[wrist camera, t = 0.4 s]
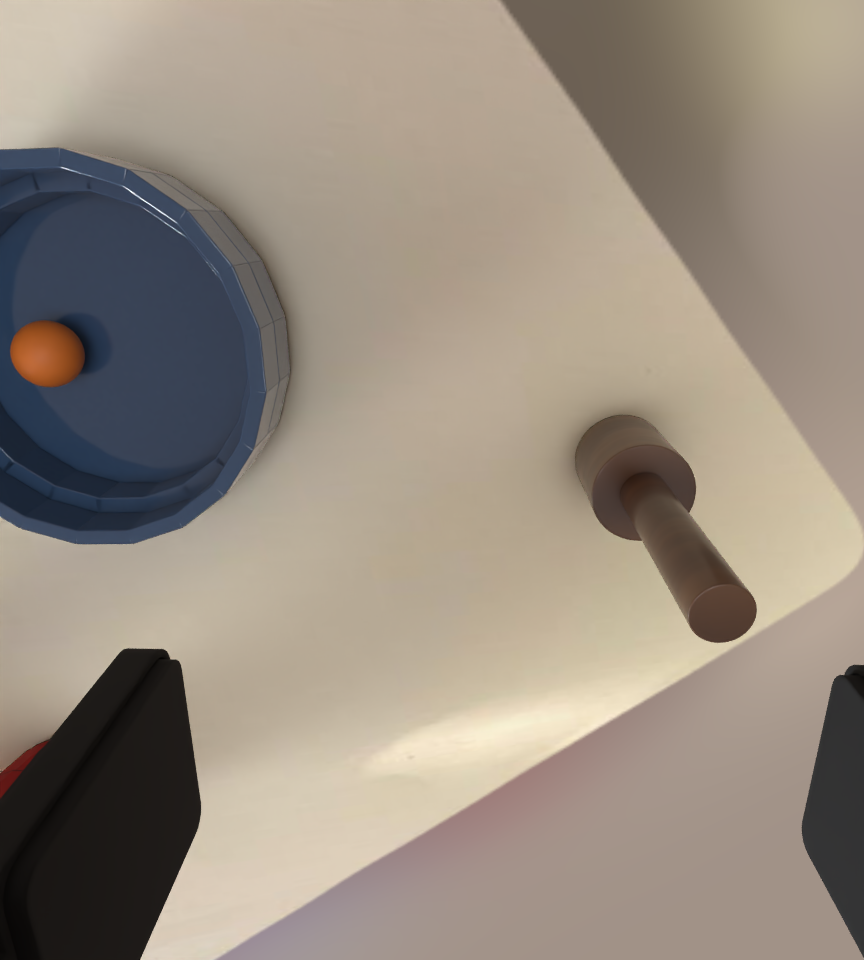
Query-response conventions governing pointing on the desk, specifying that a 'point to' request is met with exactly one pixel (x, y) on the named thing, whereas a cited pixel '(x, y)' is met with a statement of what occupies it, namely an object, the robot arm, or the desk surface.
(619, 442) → the pestle
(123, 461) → the bowl
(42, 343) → the bead
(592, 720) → the desk surface
